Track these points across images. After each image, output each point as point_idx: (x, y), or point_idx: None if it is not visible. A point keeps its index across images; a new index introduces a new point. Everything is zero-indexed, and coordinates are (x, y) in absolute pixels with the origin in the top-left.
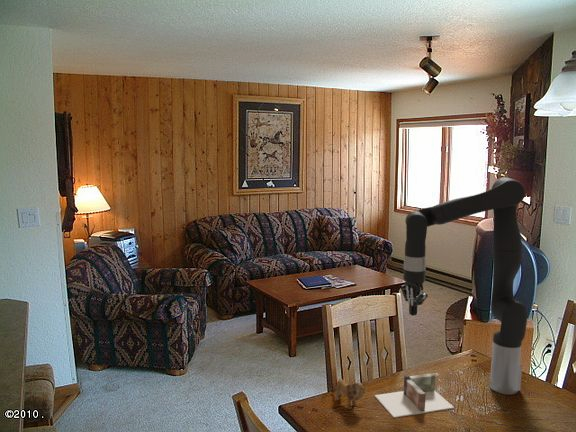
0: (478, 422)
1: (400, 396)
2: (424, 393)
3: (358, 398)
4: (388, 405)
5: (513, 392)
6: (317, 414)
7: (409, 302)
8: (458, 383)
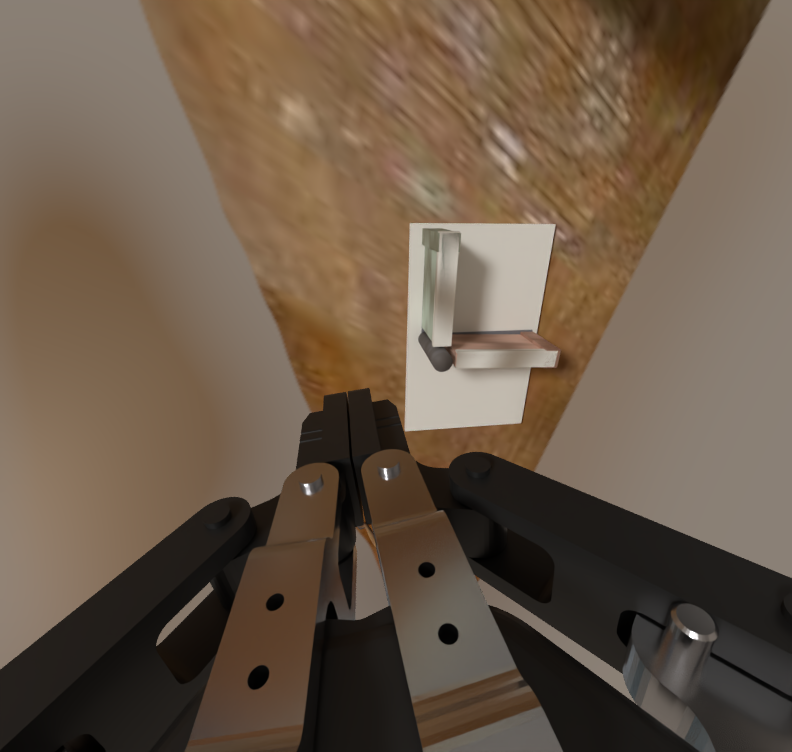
0: (646, 195)
1: None
2: (557, 352)
3: None
4: (468, 415)
5: None
6: None
7: (341, 561)
8: (407, 62)
